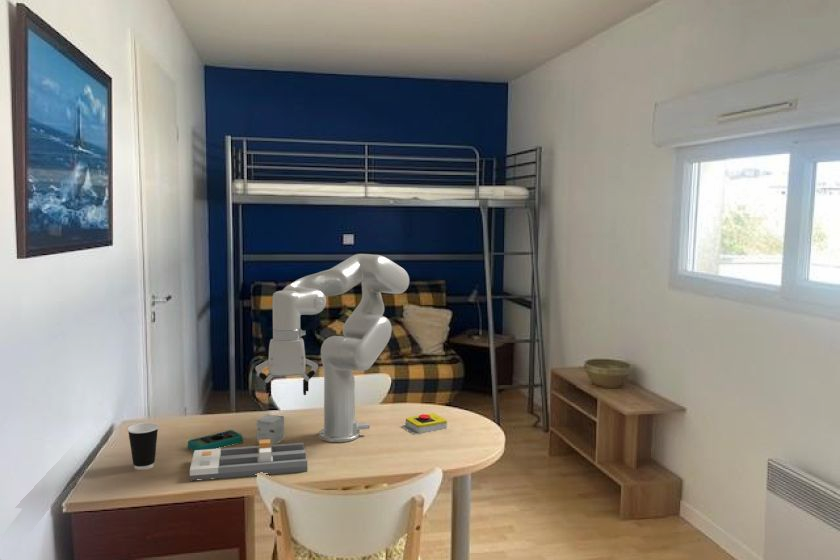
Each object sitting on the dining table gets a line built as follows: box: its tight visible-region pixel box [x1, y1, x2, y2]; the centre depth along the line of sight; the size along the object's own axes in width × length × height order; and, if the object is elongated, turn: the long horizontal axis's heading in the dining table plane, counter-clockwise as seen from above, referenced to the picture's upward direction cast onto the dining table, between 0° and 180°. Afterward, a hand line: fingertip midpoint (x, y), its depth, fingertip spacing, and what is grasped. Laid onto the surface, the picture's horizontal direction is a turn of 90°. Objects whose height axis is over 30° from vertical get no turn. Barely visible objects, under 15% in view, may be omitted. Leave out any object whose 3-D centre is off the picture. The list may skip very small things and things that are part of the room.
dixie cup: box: [126, 422, 160, 471], centre depth 174 cm, size 8×8×11 cm
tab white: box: [258, 448, 273, 463], centre depth 173 cm, size 4×4×4 cm
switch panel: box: [189, 442, 308, 481], centre depth 175 cm, size 30×14×3 cm, turn 105°
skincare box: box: [256, 414, 285, 445], centre depth 195 cm, size 6×6×7 cm
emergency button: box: [401, 413, 448, 435], centre depth 210 cm, size 9×4×15 cm
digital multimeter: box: [187, 429, 244, 452], centre depth 191 cm, size 7×15×3 cm, turn 135°
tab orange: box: [257, 439, 272, 453], centre depth 179 cm, size 4×4×4 cm
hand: (287, 394), depth 180 cm, fingers open, 9 cm apart
